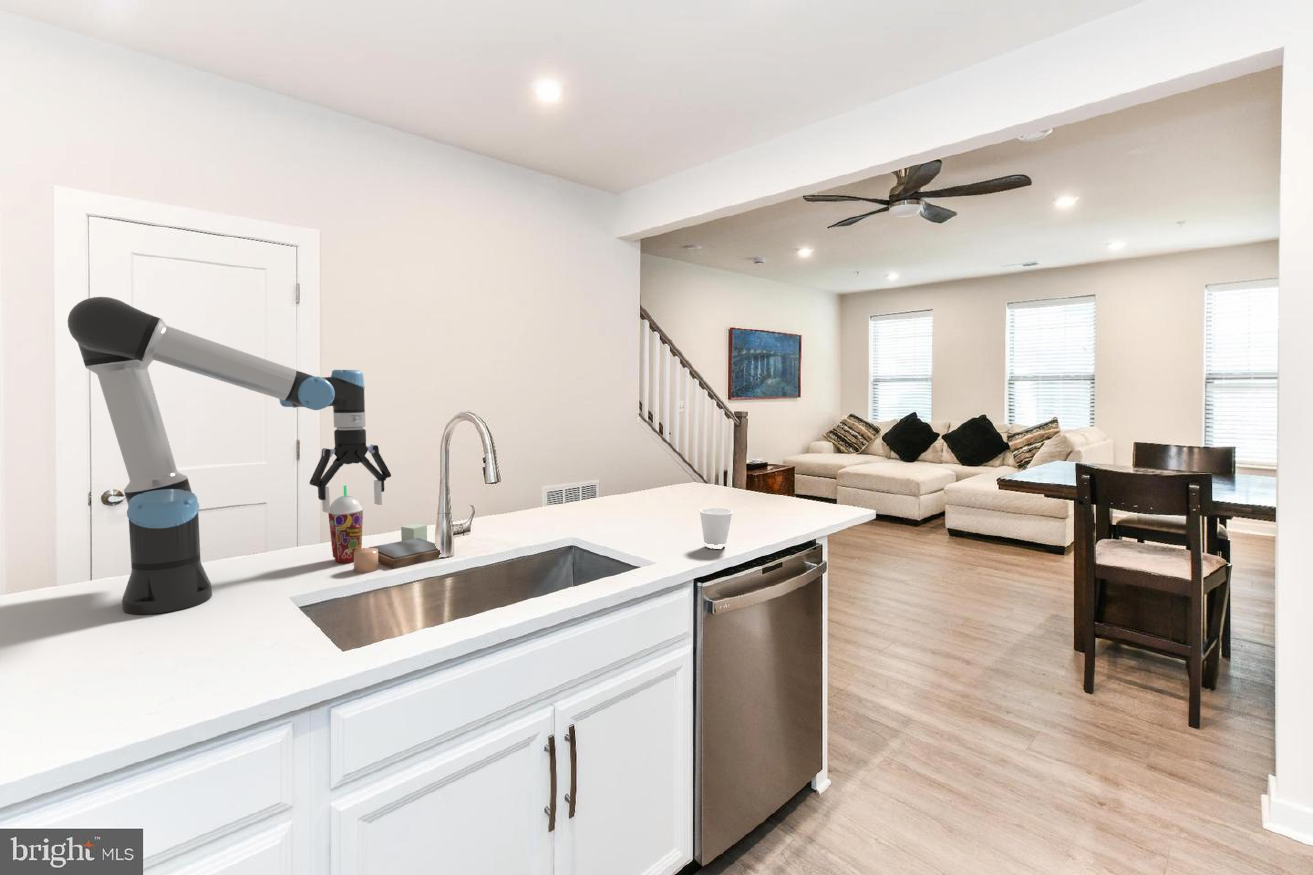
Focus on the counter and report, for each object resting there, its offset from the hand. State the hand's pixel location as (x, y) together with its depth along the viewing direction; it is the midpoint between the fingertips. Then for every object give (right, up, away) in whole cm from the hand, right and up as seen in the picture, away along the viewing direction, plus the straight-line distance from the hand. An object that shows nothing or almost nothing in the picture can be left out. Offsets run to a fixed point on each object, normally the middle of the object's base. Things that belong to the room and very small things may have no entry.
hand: (353, 508), depth 168 cm
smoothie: (-1, -14, 0) cm, 14 cm away
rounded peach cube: (+7, -15, -8) cm, 18 cm away
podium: (+13, -14, +4) cm, 19 cm away
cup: (+98, -14, +19) cm, 101 cm away
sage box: (+9, -12, +19) cm, 25 cm away
